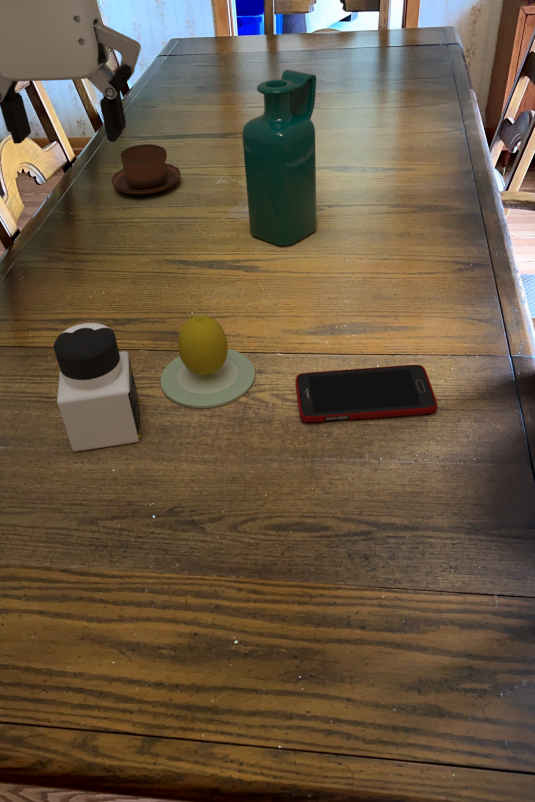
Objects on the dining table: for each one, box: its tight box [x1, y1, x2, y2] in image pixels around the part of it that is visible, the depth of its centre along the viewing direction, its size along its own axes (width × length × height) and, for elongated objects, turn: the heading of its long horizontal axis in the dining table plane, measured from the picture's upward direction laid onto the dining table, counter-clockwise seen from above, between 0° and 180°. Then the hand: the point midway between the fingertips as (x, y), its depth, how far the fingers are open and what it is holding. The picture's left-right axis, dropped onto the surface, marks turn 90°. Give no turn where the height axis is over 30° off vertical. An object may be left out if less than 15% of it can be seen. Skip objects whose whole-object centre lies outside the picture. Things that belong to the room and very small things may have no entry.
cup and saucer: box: [111, 143, 181, 196], centre depth 124 cm, size 12×12×6 cm
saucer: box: [159, 348, 256, 409], centre depth 83 cm, size 11×11×1 cm
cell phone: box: [295, 364, 438, 423], centre depth 78 cm, size 8×15×1 cm, turn 93°
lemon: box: [177, 314, 229, 375], centre depth 80 cm, size 6×6×8 cm
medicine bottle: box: [53, 322, 142, 452], centre depth 74 cm, size 7×7×12 cm
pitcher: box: [241, 69, 317, 247], centre depth 103 cm, size 10×8×22 cm
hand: (69, 137), depth 71 cm, fingers open, 9 cm apart
